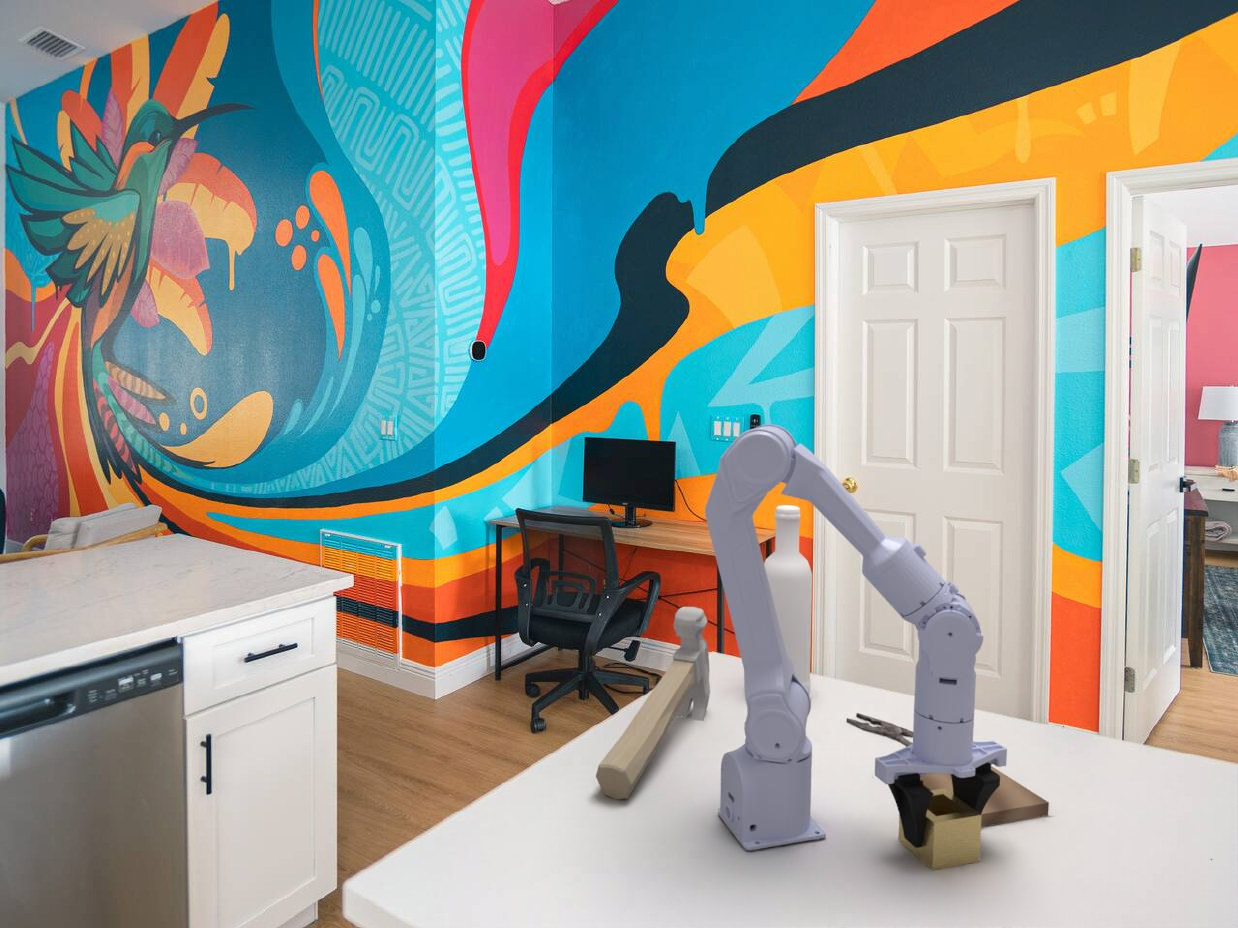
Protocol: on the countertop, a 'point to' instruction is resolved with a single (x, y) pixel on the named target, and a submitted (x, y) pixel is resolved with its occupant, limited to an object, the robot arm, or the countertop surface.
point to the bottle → (792, 590)
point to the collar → (948, 832)
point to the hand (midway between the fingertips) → (938, 837)
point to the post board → (999, 799)
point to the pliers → (882, 729)
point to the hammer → (661, 707)
